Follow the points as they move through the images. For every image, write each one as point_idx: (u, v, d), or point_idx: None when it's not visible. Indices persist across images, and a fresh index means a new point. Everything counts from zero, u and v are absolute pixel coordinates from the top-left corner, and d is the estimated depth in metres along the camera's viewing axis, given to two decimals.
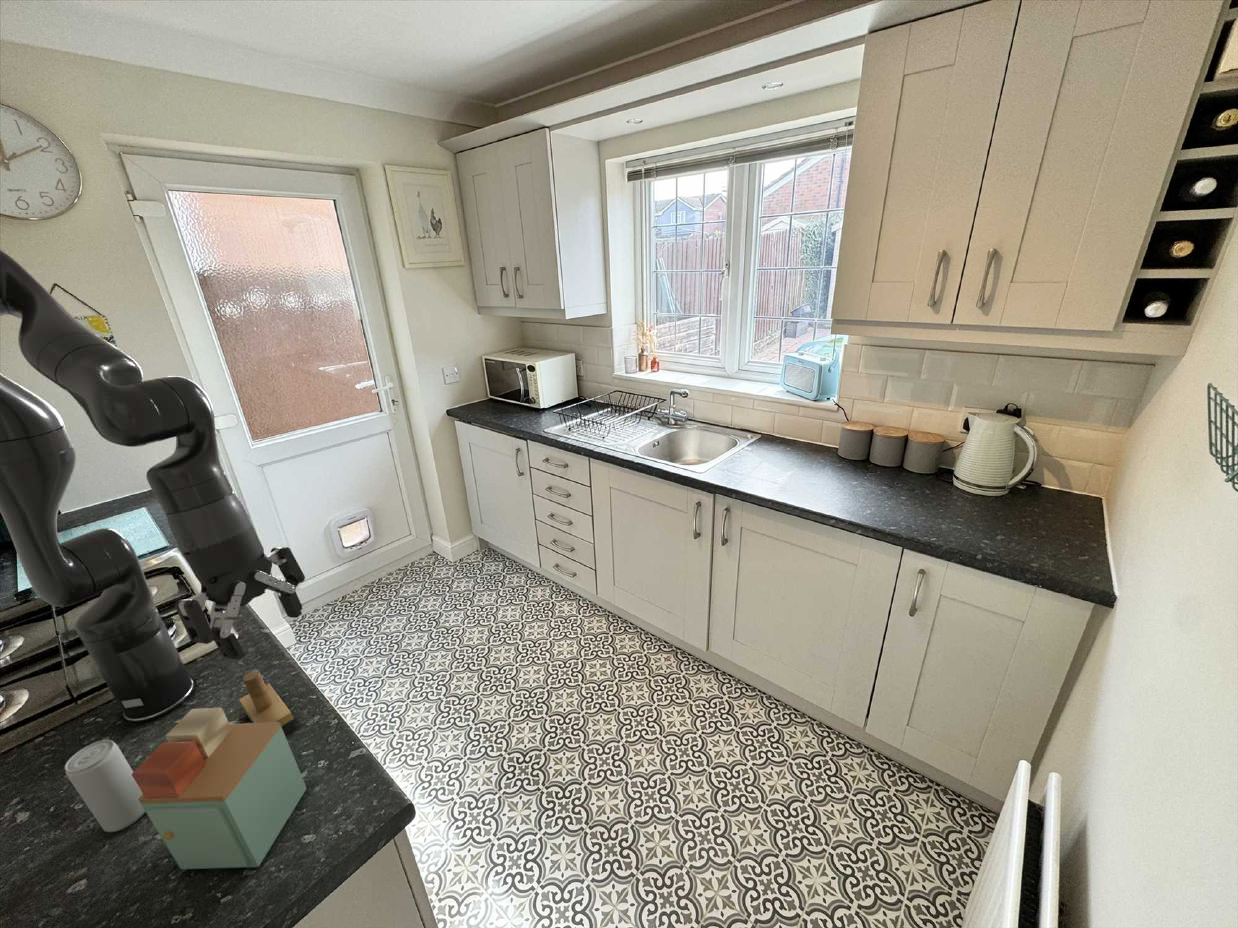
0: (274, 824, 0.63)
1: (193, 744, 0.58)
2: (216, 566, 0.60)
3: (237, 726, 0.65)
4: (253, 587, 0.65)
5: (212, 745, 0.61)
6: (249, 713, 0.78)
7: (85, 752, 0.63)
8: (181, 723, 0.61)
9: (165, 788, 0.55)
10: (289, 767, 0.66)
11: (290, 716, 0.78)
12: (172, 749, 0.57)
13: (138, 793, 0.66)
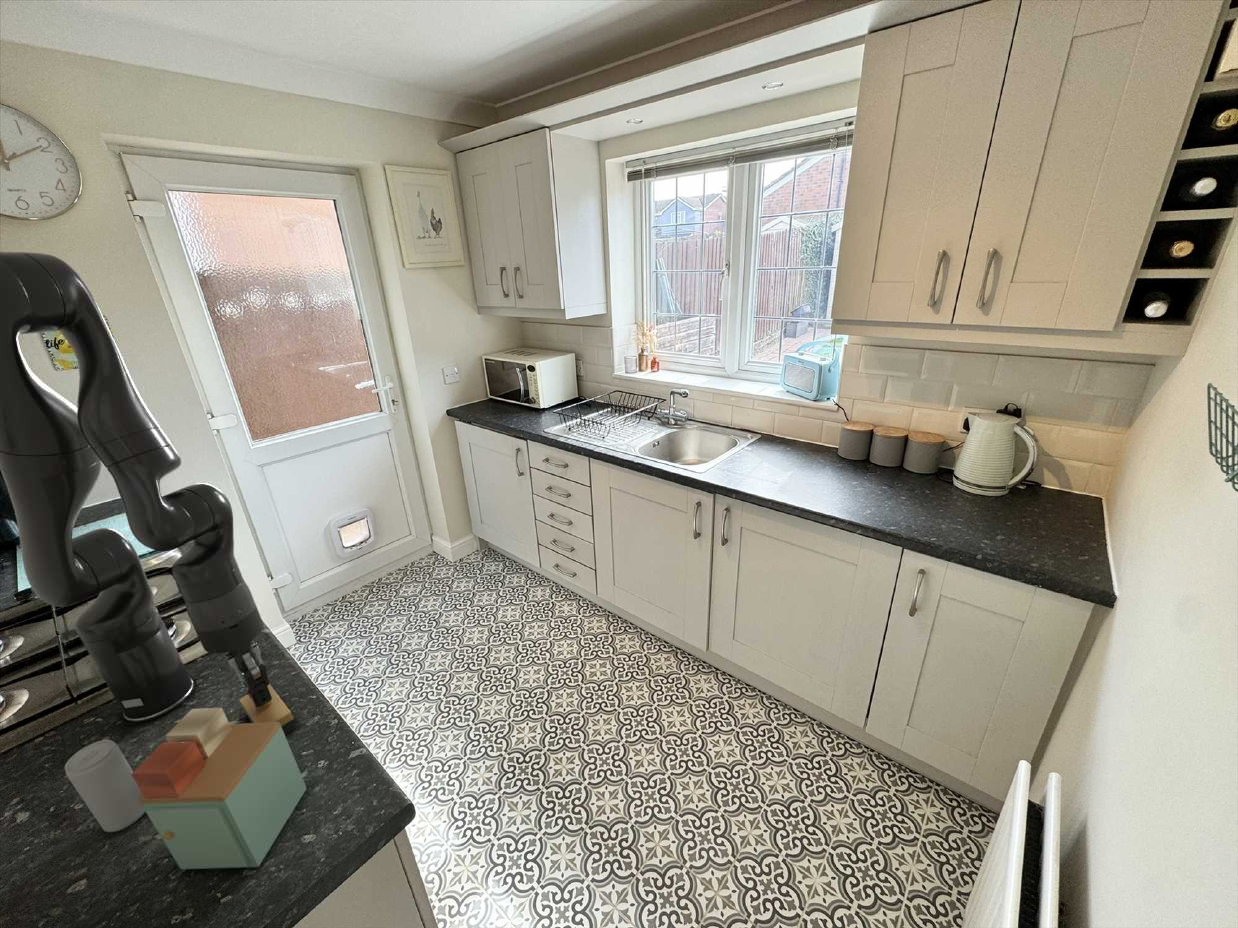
0: (274, 824, 0.63)
1: (193, 744, 0.58)
2: (256, 628, 0.74)
3: (237, 726, 0.65)
4: None
5: (212, 745, 0.61)
6: (249, 713, 0.78)
7: (85, 752, 0.63)
8: (181, 723, 0.61)
9: (165, 788, 0.55)
10: (289, 767, 0.66)
11: (290, 716, 0.78)
12: (172, 749, 0.57)
13: (138, 793, 0.66)
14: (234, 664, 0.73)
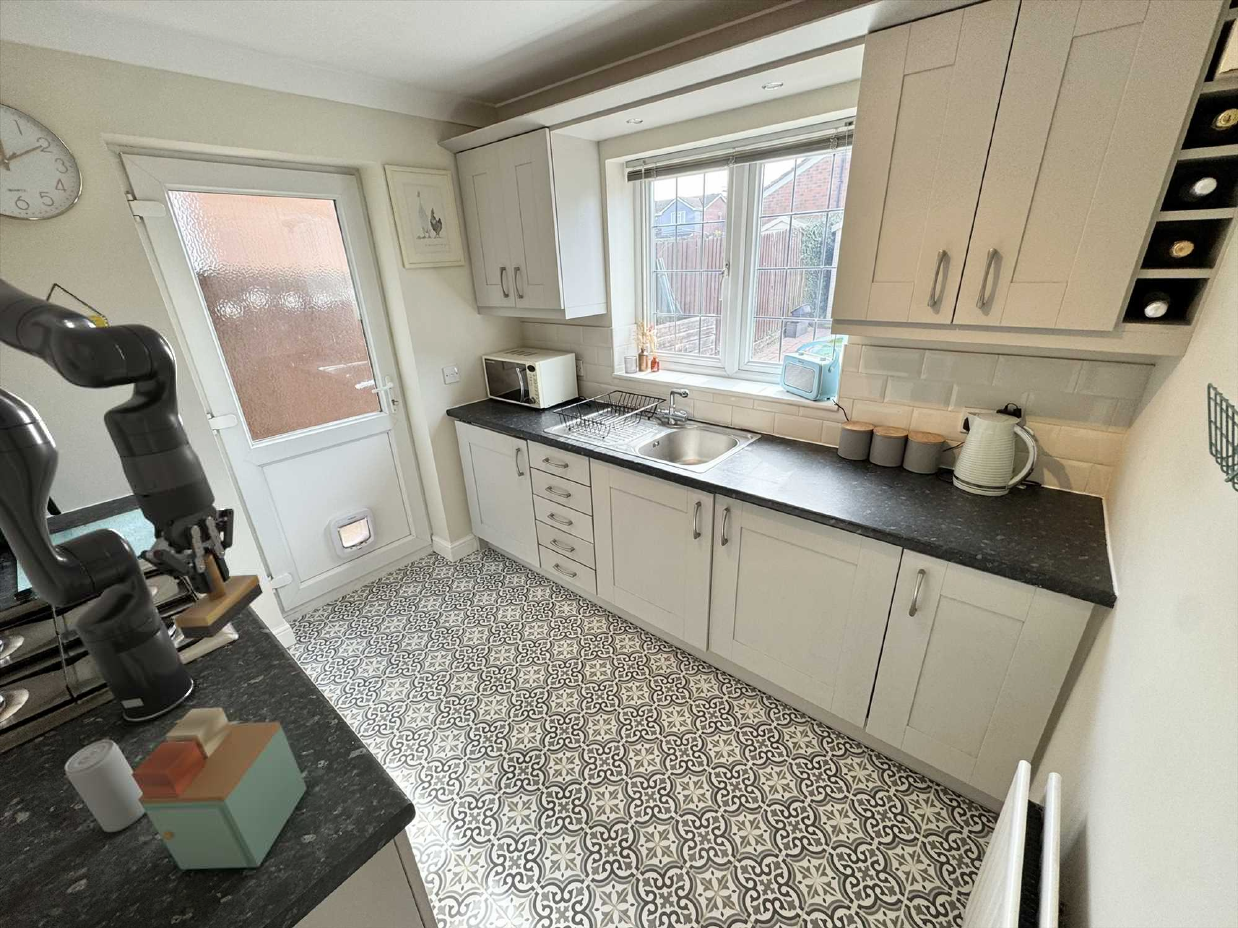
0: (274, 824, 0.63)
1: (193, 744, 0.58)
2: (177, 508, 0.63)
3: (237, 726, 0.65)
4: (202, 532, 0.68)
5: (212, 745, 0.61)
6: (206, 594, 0.72)
7: (85, 752, 0.63)
8: (181, 723, 0.61)
9: (165, 788, 0.55)
10: (289, 767, 0.66)
11: (205, 621, 0.67)
12: (172, 749, 0.57)
13: (138, 793, 0.66)
14: None
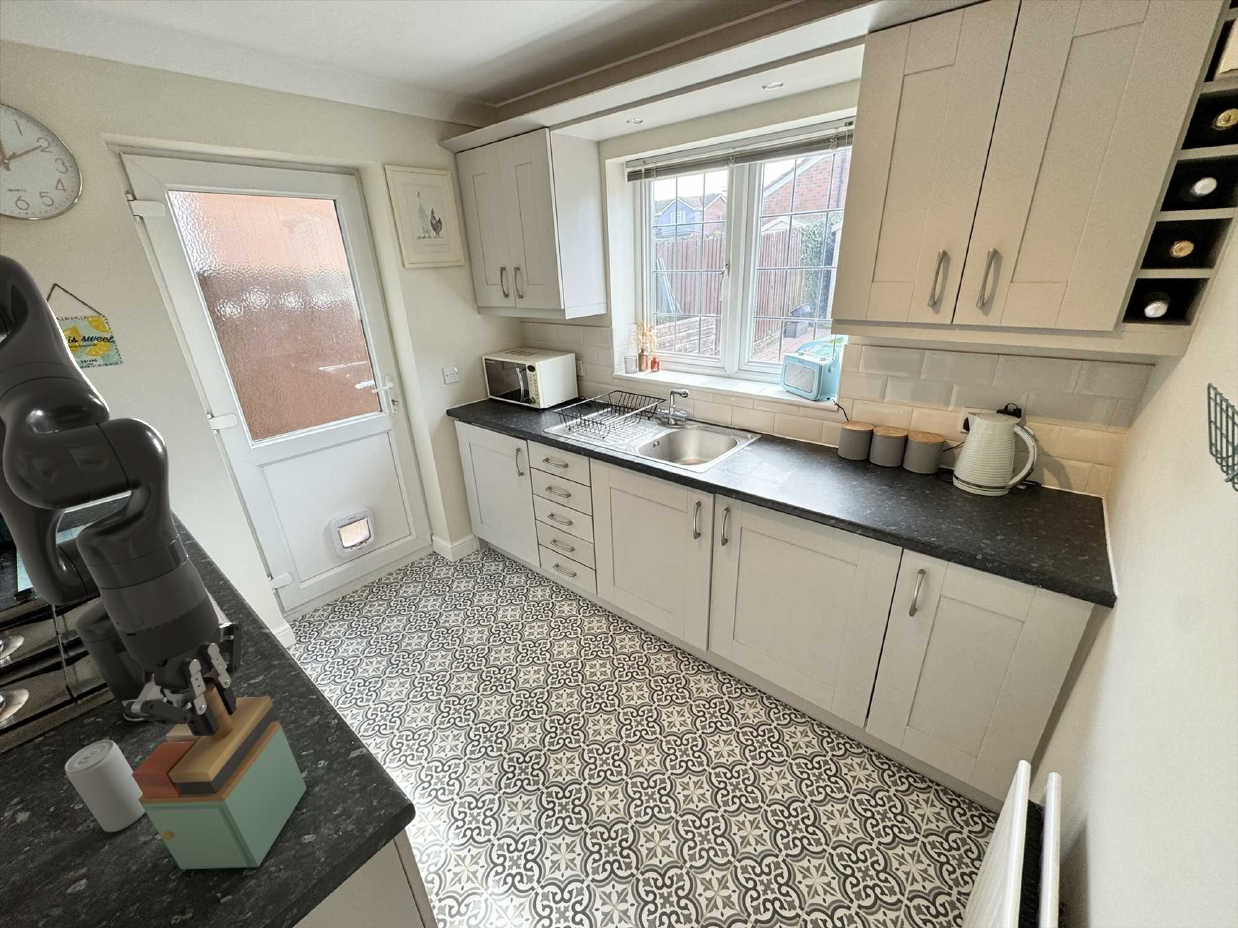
0: (274, 824, 0.63)
1: (193, 744, 0.58)
2: (171, 646, 0.50)
3: None
4: (203, 663, 0.55)
5: None
6: None
7: (85, 752, 0.63)
8: None
9: (165, 788, 0.55)
10: (289, 767, 0.66)
11: (207, 776, 0.54)
12: (172, 749, 0.57)
13: (138, 793, 0.66)
14: None
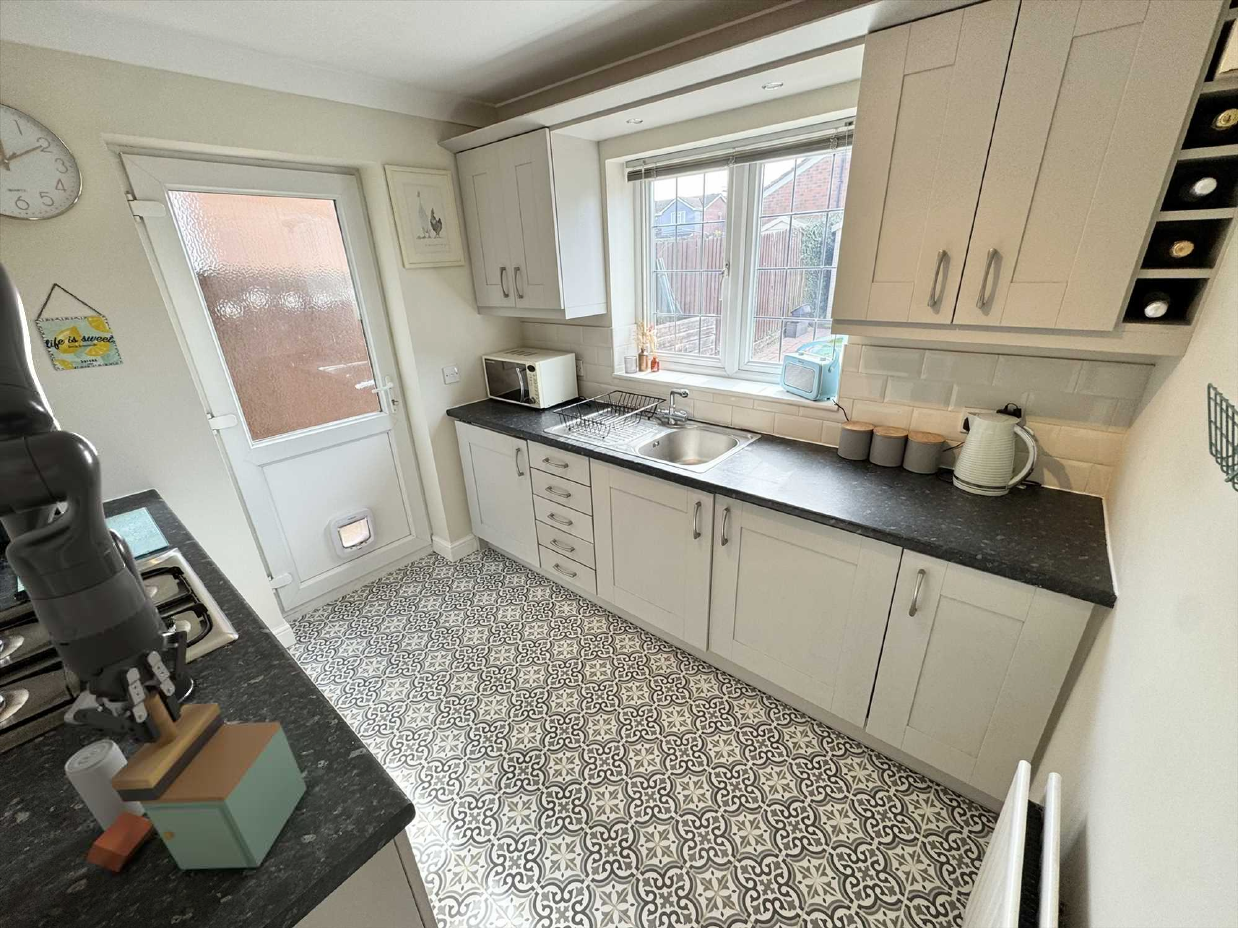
0: (274, 824, 0.63)
1: (144, 839, 0.64)
2: (106, 655, 0.50)
3: (237, 726, 0.65)
4: (144, 671, 0.55)
5: None
6: None
7: (85, 752, 0.63)
8: None
9: (99, 860, 0.60)
10: (289, 767, 0.66)
11: (148, 783, 0.54)
12: (144, 839, 0.63)
13: None
14: None
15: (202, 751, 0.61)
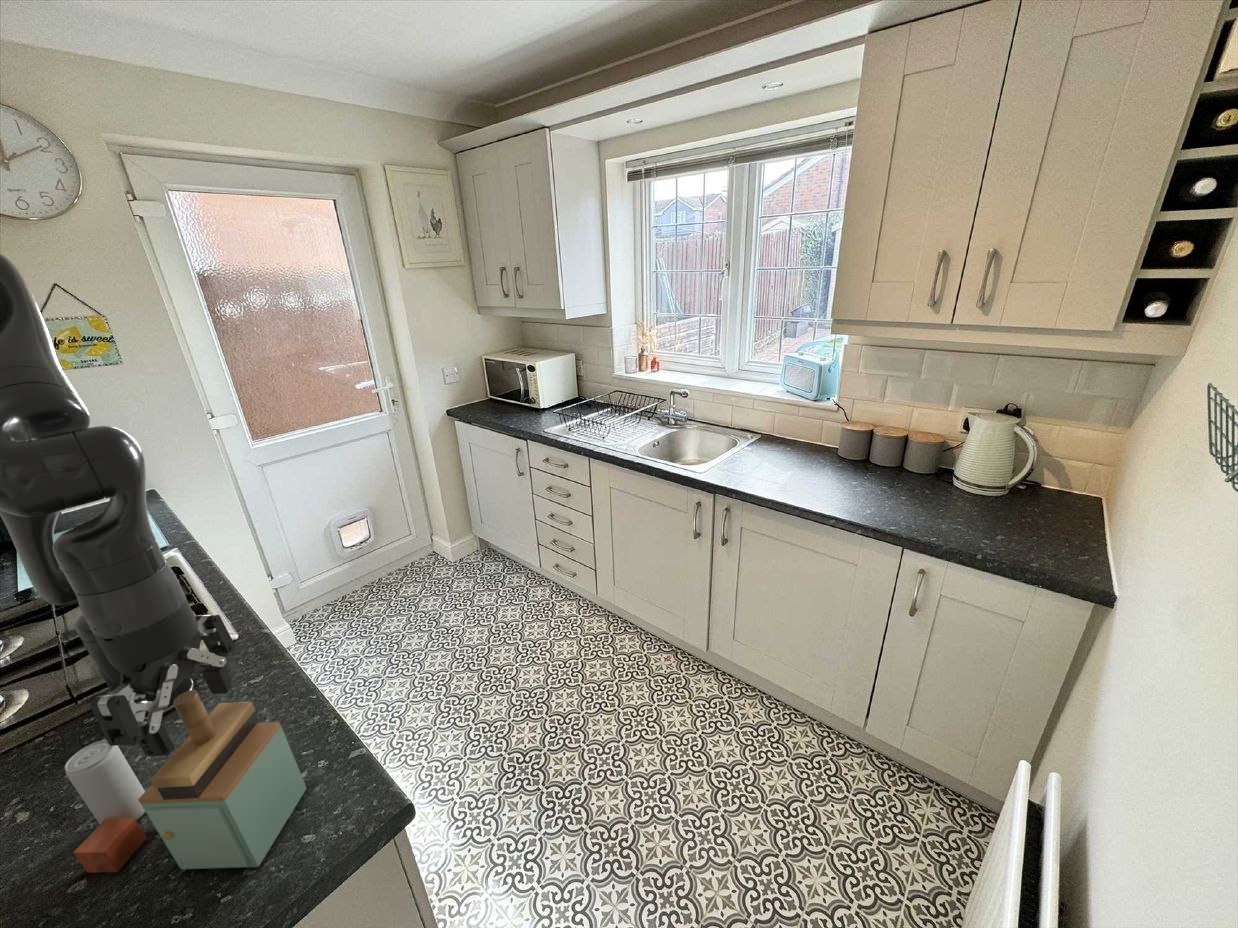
0: (274, 824, 0.63)
1: None
2: (149, 651, 0.51)
3: None
4: (183, 667, 0.56)
5: None
6: (190, 736, 0.59)
7: (85, 752, 0.63)
8: None
9: (95, 867, 0.60)
10: (289, 767, 0.66)
11: (189, 781, 0.54)
12: (134, 837, 0.63)
13: (138, 793, 0.66)
14: None
15: None
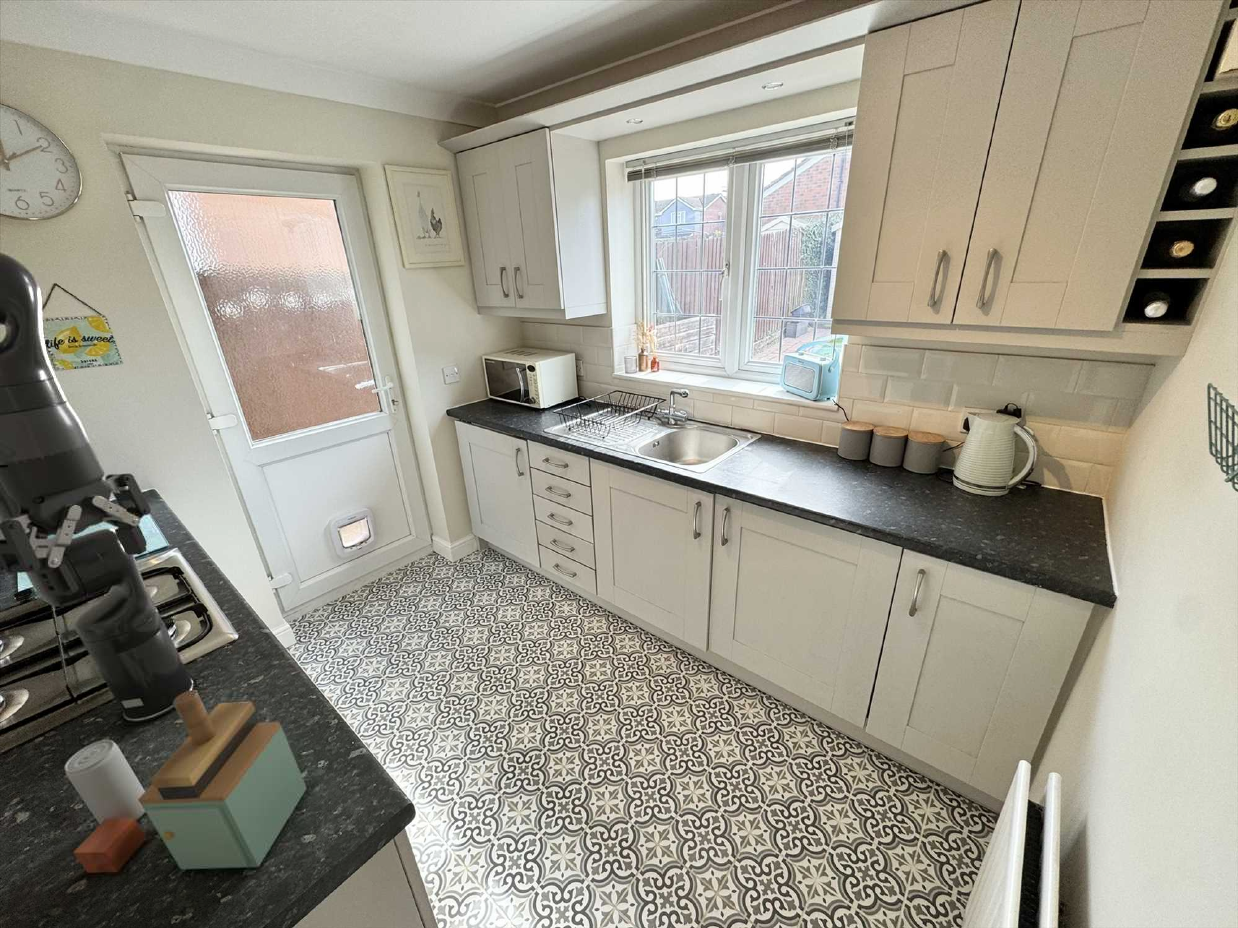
0: (274, 824, 0.63)
1: None
2: (46, 482, 0.51)
3: None
4: (89, 514, 0.57)
5: None
6: (190, 736, 0.59)
7: (85, 752, 0.63)
8: None
9: (95, 867, 0.60)
10: (289, 767, 0.66)
11: (189, 781, 0.54)
12: (134, 837, 0.63)
13: (138, 793, 0.66)
14: None
15: None
